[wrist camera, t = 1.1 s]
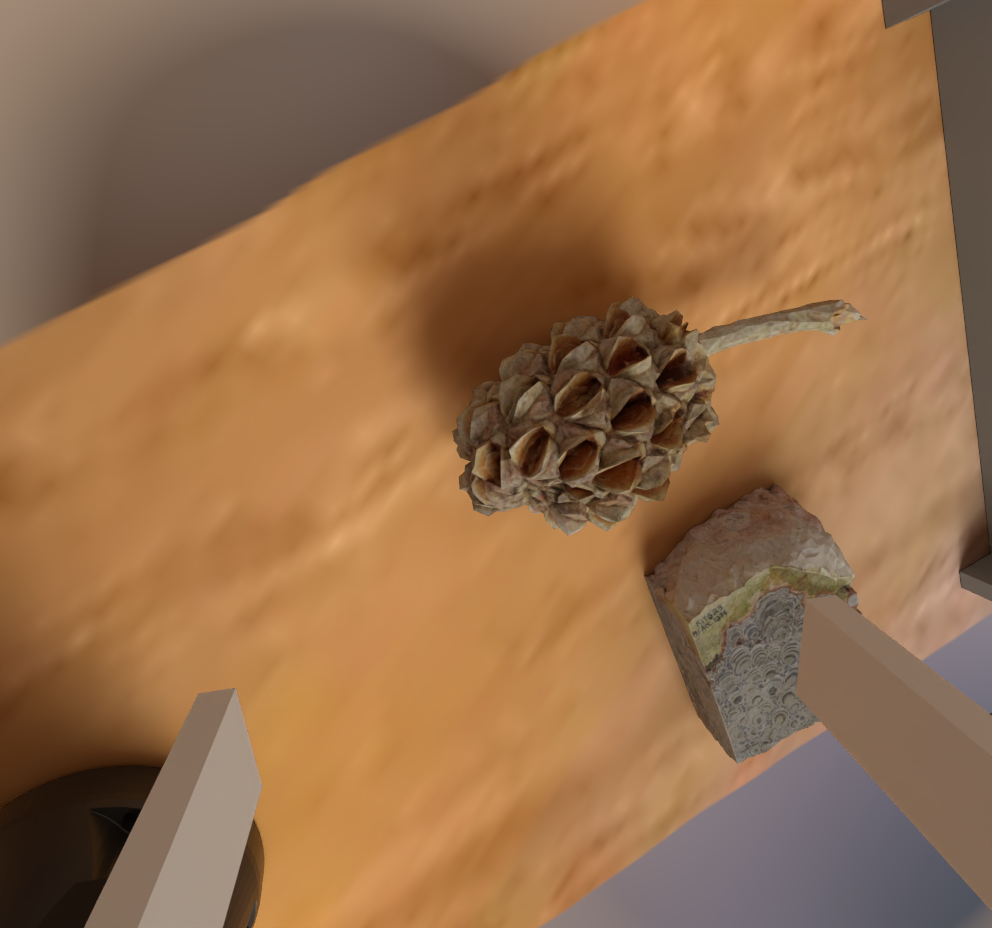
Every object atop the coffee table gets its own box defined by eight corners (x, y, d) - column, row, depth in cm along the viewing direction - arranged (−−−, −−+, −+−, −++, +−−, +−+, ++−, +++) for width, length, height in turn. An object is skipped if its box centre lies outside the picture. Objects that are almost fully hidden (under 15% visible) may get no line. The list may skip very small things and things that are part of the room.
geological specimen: (745, 781, 37) (679, 606, 31) (691, 713, 43) (627, 554, 37) (886, 696, 38) (848, 511, 32) (815, 641, 44) (772, 474, 38)
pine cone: (479, 535, 33) (537, 625, 24) (400, 383, 30) (432, 419, 21) (799, 359, 36) (961, 380, 27) (758, 201, 33) (928, 162, 23)
